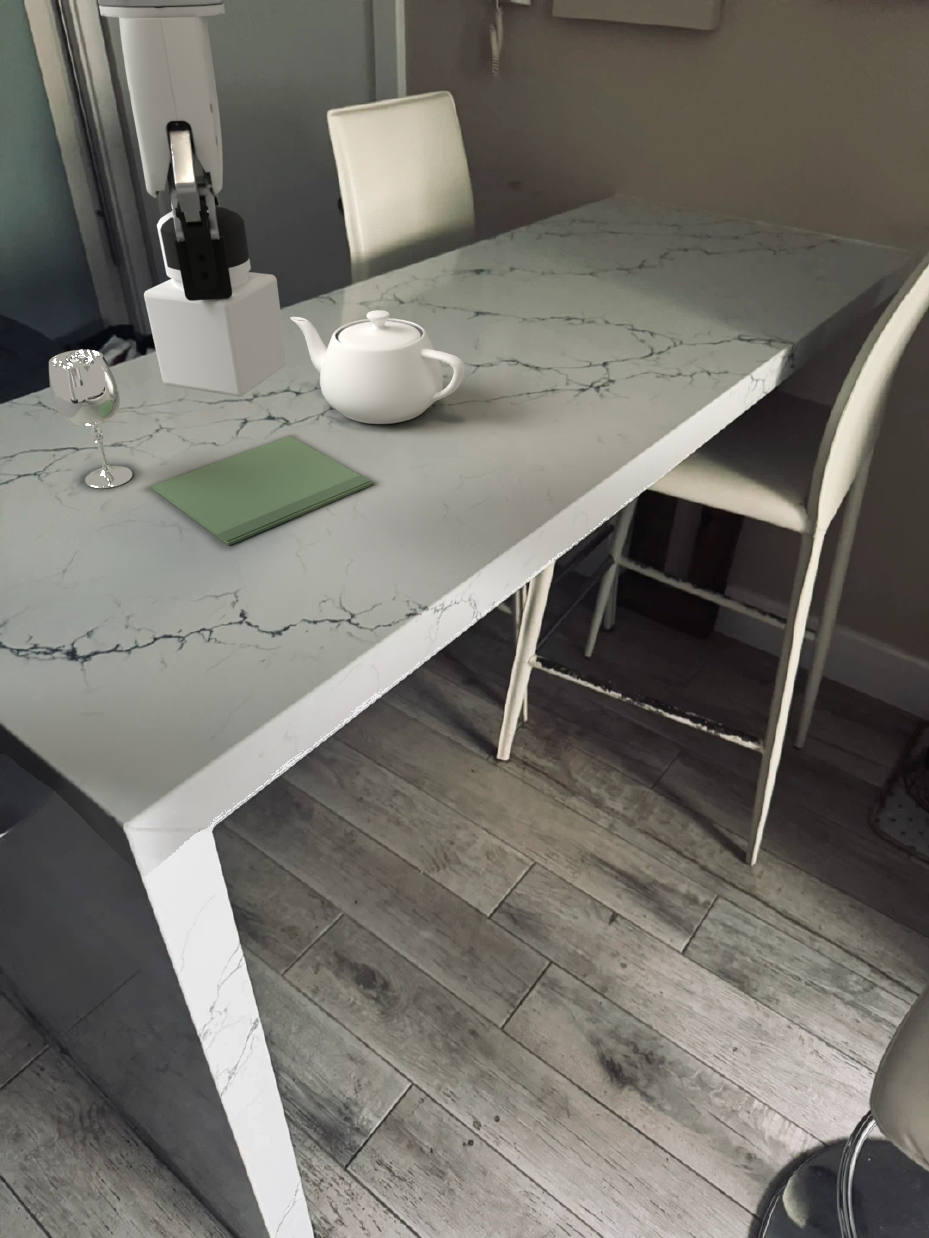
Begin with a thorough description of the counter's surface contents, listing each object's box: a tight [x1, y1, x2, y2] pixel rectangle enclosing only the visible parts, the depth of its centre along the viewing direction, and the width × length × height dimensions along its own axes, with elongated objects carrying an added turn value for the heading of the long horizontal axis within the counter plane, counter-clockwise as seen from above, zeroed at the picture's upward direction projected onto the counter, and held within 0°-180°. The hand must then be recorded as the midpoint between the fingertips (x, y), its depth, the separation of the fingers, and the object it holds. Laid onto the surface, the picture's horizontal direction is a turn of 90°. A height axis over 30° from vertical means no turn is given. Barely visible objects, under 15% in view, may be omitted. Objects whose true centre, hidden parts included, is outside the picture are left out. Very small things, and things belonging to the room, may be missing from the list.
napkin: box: [151, 435, 373, 546], centre depth 84 cm, size 16×14×1 cm
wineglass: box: [48, 349, 134, 489], centre depth 82 cm, size 6×6×12 cm
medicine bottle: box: [143, 206, 288, 398], centre depth 65 cm, size 7×7×12 cm
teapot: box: [289, 309, 466, 425], centre depth 96 cm, size 22×14×11 cm, turn 63°
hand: (210, 279), depth 64 cm, fingers closed on medicine bottle, 7 cm apart
